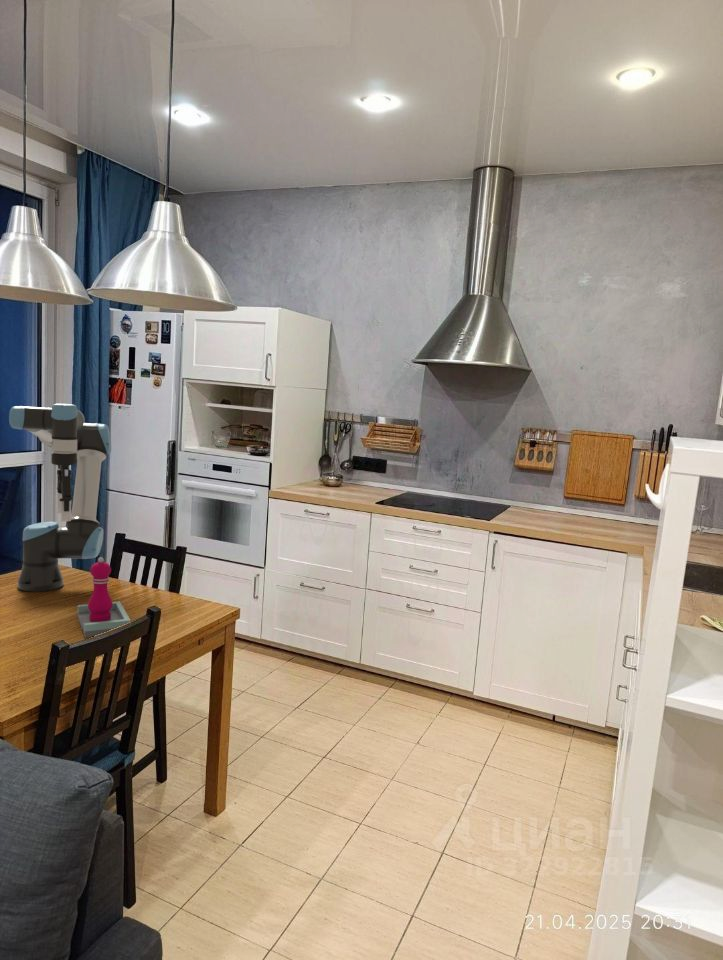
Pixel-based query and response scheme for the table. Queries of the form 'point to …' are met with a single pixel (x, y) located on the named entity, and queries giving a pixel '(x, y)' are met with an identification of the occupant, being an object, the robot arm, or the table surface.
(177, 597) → the table surface
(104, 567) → the pepper mill
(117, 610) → the tray
